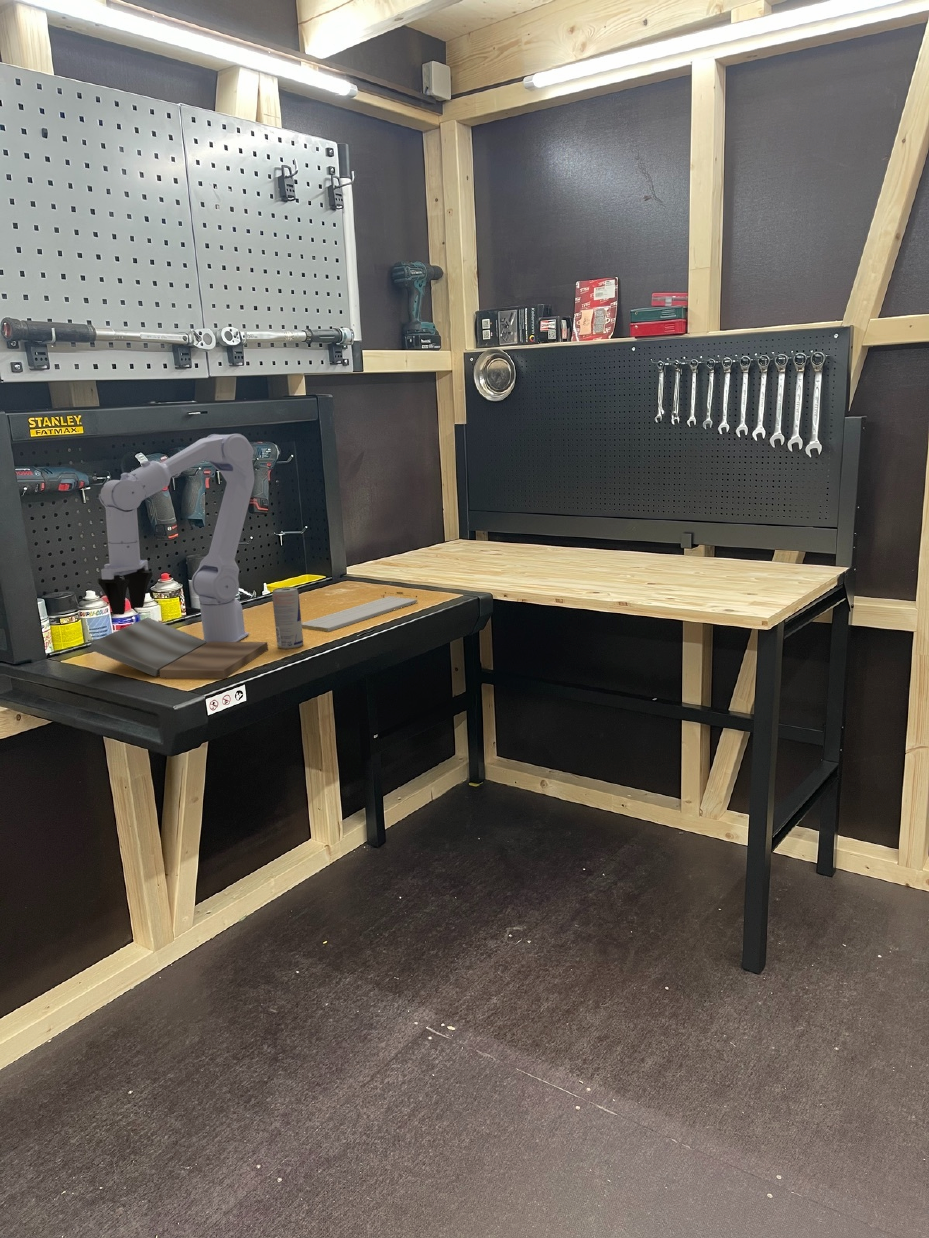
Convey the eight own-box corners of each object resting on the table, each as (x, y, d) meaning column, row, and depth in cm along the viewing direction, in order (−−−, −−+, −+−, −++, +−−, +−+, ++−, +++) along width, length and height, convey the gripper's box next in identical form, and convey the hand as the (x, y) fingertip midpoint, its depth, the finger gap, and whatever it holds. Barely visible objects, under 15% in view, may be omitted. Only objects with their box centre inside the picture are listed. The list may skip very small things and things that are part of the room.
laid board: (210, 649, 192) (209, 641, 192) (268, 649, 190) (267, 642, 189) (160, 677, 174) (159, 669, 173) (224, 678, 171) (223, 670, 170)
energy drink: (305, 641, 194) (299, 586, 192) (301, 648, 189) (296, 591, 186) (279, 643, 194) (274, 587, 192) (275, 649, 189) (269, 592, 186)
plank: (145, 623, 194) (147, 617, 194) (205, 648, 193) (207, 641, 192) (89, 649, 175) (91, 642, 175) (155, 676, 174) (157, 669, 173)
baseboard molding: (290, 628, 209) (328, 635, 202) (289, 616, 208) (327, 622, 201) (381, 601, 233) (418, 605, 226) (380, 589, 232) (417, 594, 225)
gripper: (123, 538, 188) (127, 604, 190) (84, 545, 173) (89, 616, 176) (155, 538, 187) (159, 604, 189) (119, 546, 172) (124, 617, 175)
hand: (128, 610), depth 182 cm, fingers open, 7 cm apart
